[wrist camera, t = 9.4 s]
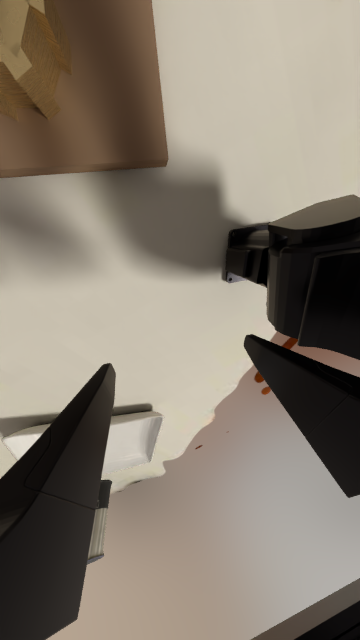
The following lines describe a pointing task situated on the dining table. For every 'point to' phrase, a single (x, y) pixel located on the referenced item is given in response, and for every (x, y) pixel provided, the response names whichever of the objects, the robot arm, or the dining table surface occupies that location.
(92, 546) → the milk frother
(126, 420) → the square plate
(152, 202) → the dining table surface
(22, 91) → the wooden gear
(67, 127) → the gear board
